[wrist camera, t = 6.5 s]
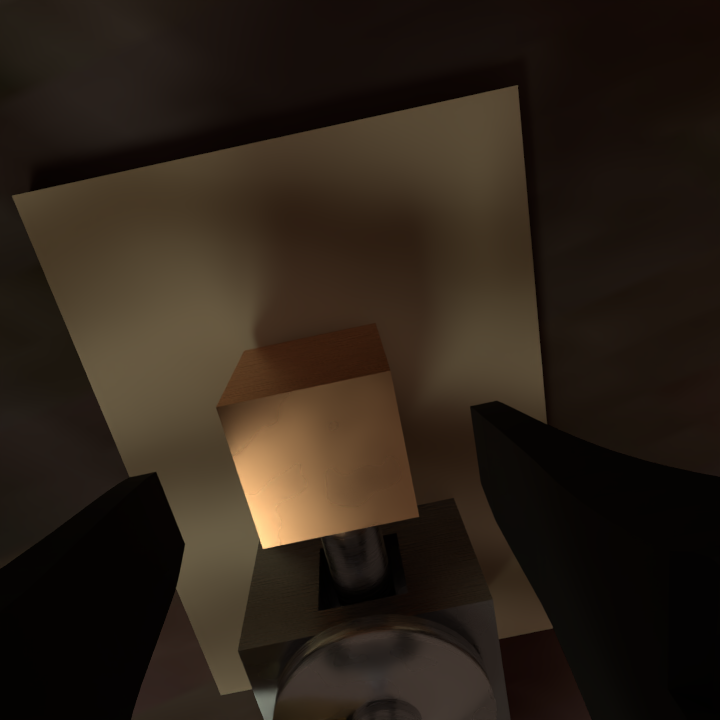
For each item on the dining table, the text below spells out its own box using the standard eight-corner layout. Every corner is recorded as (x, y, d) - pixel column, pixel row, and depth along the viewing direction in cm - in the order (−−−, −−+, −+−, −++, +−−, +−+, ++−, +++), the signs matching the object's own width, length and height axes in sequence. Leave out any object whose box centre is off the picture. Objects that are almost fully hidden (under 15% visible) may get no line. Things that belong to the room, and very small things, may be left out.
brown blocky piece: (438, 633, 19) (463, 743, 16) (334, 654, 19) (335, 768, 16) (375, 322, 15) (390, 370, 11) (243, 350, 15) (215, 407, 11)
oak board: (556, 610, 21) (564, 625, 20) (224, 676, 21) (221, 695, 21) (507, 90, 14) (518, 85, 14) (28, 194, 15) (12, 195, 14)
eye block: (471, 605, 20) (511, 725, 15) (294, 641, 20) (283, 771, 15) (453, 497, 18) (492, 599, 14) (259, 538, 18) (237, 651, 14)
